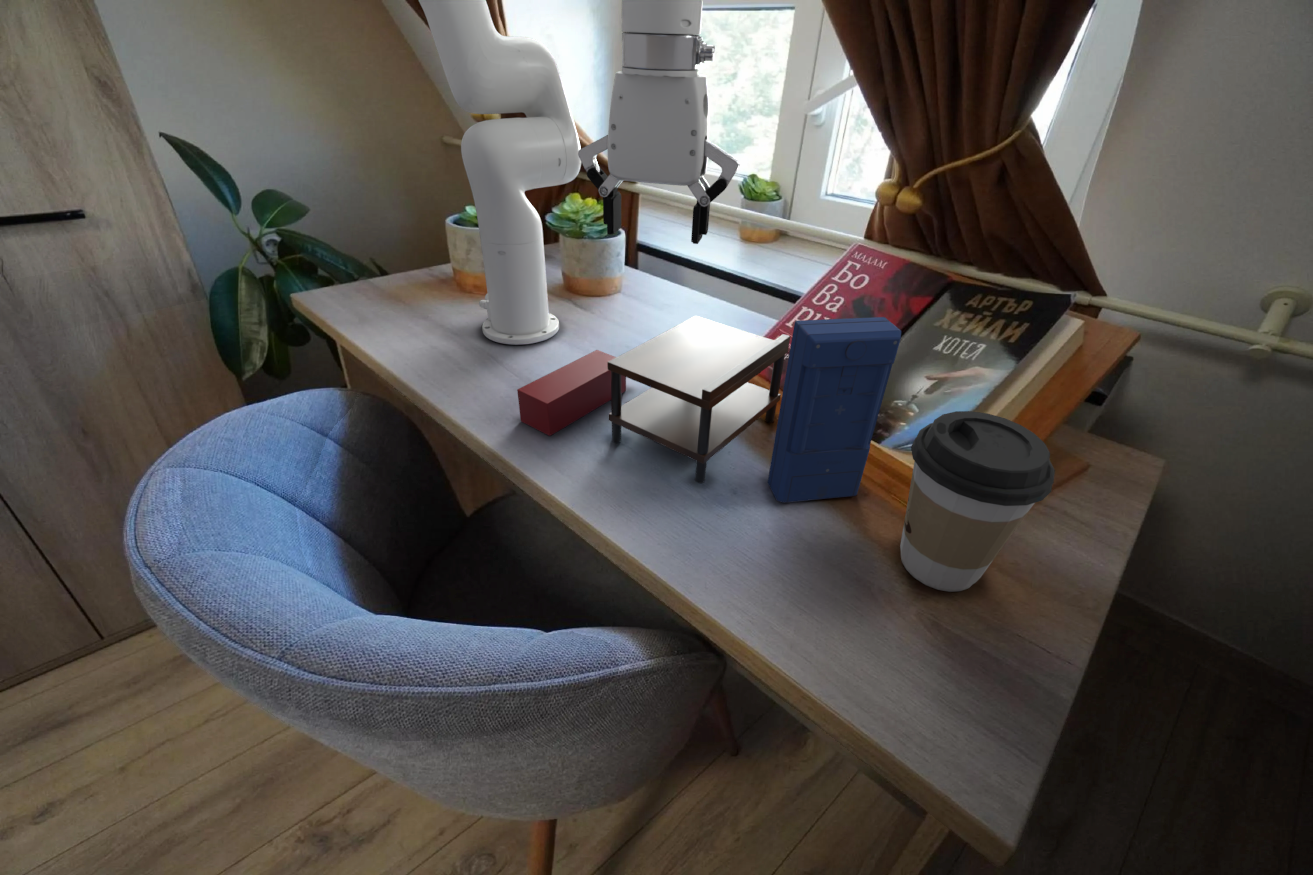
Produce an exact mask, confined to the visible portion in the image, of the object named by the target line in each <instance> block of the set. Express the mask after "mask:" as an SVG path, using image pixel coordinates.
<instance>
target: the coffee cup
mask: <svg viewBox="0 0 1313 875" xmlns="http://www.w3.org/2000/svg"><path fill="white" fill-rule="evenodd" d="M910 450H911V455H912V460H913V462H914V463H913V468H912V473H911V480H910V486H909V490H908V491H909V492H908V498H907V502H906V503H907V504H906V510H905V517H904V522H903V526H902V532H901V539H900V546H899V547H900V548H899V549H900V558H901V564H902V565H903V566H904V569H905V570H906V571H907V572H908V574H910V575H911V576H912V578H914V579H916V580H917V581H918V582H920V583H922V584H923V585H925V586H927V587H930V588H933V589H935V590H938V591H944V592H949V593H951V592H962V591H965V590H967V589H970V588H971V587H972V586H974V584H976V583H977V582H978V581H979V580H980V579H981V578H982V576H983V575H984V574H985V572H986V571H987V570H988V568H989V567H990V565H991V564H992V563H993V562H994V560H995V558H996V557H997V556H998V554H999V553H1000V552H1001V550H1002V549H1003V547H1004V546H1005V545H1006V543H1007V542H1008V541H1009V539H1010V538H1011V536H1012V535H1013V534H1014V532H1016V530H1017V528H1018V527H1019V525H1020V524H1021V522H1023V520H1024V518H1025V517H1026V516H1027V515H1028V513H1029V512H1030V510H1031V509H1032V507H1034V505H1035V504H1036V503H1038V502H1042V501H1044V500H1045V499H1046V498H1047V497H1048V496H1049V495H1050V494H1051V493H1052V489H1053V484H1054V483H1055V473H1056V470H1055V468H1054V466H1053V464H1052V462H1051V460H1050V459H1051V452H1050V451H1049V449H1048V447H1047V444H1046V443H1045V442H1044V441H1043V440H1042V439H1041V438H1040V437H1039V436H1038V435H1036V433H1035V432H1033V431H1031V430H1030V429H1028V428H1027V427H1025V426H1023V425H1021V424H1020V423H1017V422H1015V421H1013V420H1011V419H1008V418H1005V417H1003V416H998V415H994V414H991V413H988V412H979V411H973V410H957V411H952V412H948V413H943V414H942V415H941V414H940V415H939V416H938V417H936V418H934V420H933V421H932V422H930V423H929V424H927V425H925V426H923V427H922V428H921V429H920V430H919V431H918V433H917V435H916V437H915V438H914V440H913V442H912V444H911V446H910Z"/></svg>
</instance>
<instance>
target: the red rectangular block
mask: <svg viewBox="0 0 1313 875" xmlns="http://www.w3.org/2000/svg"><path fill="white" fill-rule="evenodd" d="M616 357H617V356H614V355H612V354H609V353H606V352H604V351H603V350H599V349H595V350H593V351H591V352H590V353H587V354H586V355H583V356H582V357H580V358H578V359H575V360H573V361H572V362H570V363H567V364H566V365H564V366H563V365H562V367H559V368H557V369H556V370H554V371H551V372H549V373H547V374H546V375H544V376H541V377H540V378H537V379H535V380H533V381H531V382H530V383H527V384H526V385H523V386H521V387H519V388H517V390H516V391H517V400H518V409H519V418H520V422H521V423H523V424H525V425H527V426H529V427H531V428H533V429H535V430H536V431H539V432H541V433H543V434H545V435H547V436H548V437H551V436H552V435H554V434H556V433H558V432H560V431H561V430H563V429H565V428H566V427H568V426H570V425H571V424H574V423H575V422H576V421H578V420H580V419H581V418H583V417H585V416H587V415H588V414H590V413H591V412H593V411H596V409H598V408H600V407H601V406H603V405H605V404H607V403H608V402H611V371H610V370H608V362H609V361H610V360H612V359H614V358H616ZM626 391H627V377H625V376H622V375H621V395H622V394H623V393H625V392H626Z"/></svg>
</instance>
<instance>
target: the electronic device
mask: <svg viewBox="0 0 1313 875" xmlns="http://www.w3.org/2000/svg"><path fill="white" fill-rule="evenodd" d="M901 338H902V330H901V329H900V328H898V327H897V326H896V325H895V324H894V323H893V322H891V321H890V320H889V319H888V318H886V317H885V316H874V317H851V318H828V319H827V318H826V319H805V320H804V319H803V320H801V319H800V320H795V321H794V324H793V330H792V336H791V340H790V342H791V343H790V346H789V352H788V353H789V354H788V359H787V366H786V371H785V377H784V383H783V390H782V394H781V399H780V407H779V413H778V418H777V422H776V423H777V425H776V430H775V434H774V435H775V436H774V440H773V441H774V442H773V448H772V454H771V459H770V464H769V471H768V477H767V484H768V487H769V488H770V490H771V492H772V494H773V496H774V498H775V500H776V501H777V502H781V503H794V502H803V501H805V502H807V501H815V500H826V499H828V500H829V499H836V498H838V499H839V498H847V497H848V498H849V497H857V495H858V492H859V490H860V486H861V483H862V482H861V481H862V479H863V475H864V472H865V469H866V464H867V461H868V457H869V454H870V449H871V442H872V440H873V439H872V438H873V436H874V432H875V428H876V425H877V421H878V417H879V414H880V410H881V407H882V404H883V400H884V396H885V393H886V389H887V385H888V382H889V379H890V375H891V371H892V368H893V365H894V364H895V361H896V357H897V354H898V351H899V347H900V343H901Z"/></svg>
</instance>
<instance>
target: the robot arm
mask: <svg viewBox="0 0 1313 875" xmlns="http://www.w3.org/2000/svg"><path fill="white" fill-rule="evenodd" d="M418 2H419V5H420V6H421V8H422V10H423V13H424V16H425V18H426V20H427V24H428V27H429V30H430V34H431V36H432V39H433V43H434V45H435V49H436V52H437V55H438V58H439V62H440V63H441V66H442V69H443V73H444V76H445V78H446V81H447V84H448V86H449V89H450V91H451V94H452V97H453V99H454V100H455V103H457V105H458V106H459V108H460V109H461V110H462V111H464V112H466V113H468V114H469V113H470V114H475V115H498V114H517V113H518V114H519V113H522V114H524V115H525V117H507V118H493V119H486V120H483V121H479V122H476V123H474V124H473V125H471V126H469V128H467V129H466V130H465V131H464V134H463V135H462V139H461V142H460V153H461V158H462V163H463V167H464V170H465V173H466V176H467V179H468V182H469V187H470V189H471V190H470V191H471V194H472V198H473V202H474V207H475V212H476V218H477V219H476V220H477V226H478V232H479V240H480V247H481V254H482V264H483V271H484V277H485V284H486V291H487V293H486V294H485V296H484V299H481V300H480V301H479V302H478V305H479V307H480V308H482V309H484V310H486V312H487V317H486V319H485V320H484V321H483V323H482V328H481V329H482V333H483V335H484V336H485V337H486V338H487V339H489V340H490V341H493V342H496V343H498V344H504V345H515V346H519V345H521V346H522V345H532V344H535V343H540V342H543V341H547V340H548V339H550V338H552V337H553V336H555V335H556V334H557V333H558V332H559V330H560V322H559V319H558V318H557V317H556V316H555V315H554V314H552V313H551V312H550V311H549V310H550V309H549V299H548V297H549V296H548V285H547V271H546V270H547V269H546V258H545V244H544V230H543V223H542V219H541V217H540V214H539V213H538V211H537V209H536V208H535V207H534V205H532V203H531V202H530V201H529V199H528V198H527V196H526V193H525V192H526V191H531V190H535V189H542V188H549V187H555V186H561V185H565V184H569V183H570V182H572V181H574V180H575V179H576V178H577V176H578V175H579V172H580V171H581V167H582V166H583V168H584V170H585V172H586V176H587V178H588V180H589V181H590V182H591V183H592V184H593V186H595V188H596V189H597V190H598V194H599V196H600V197H602V210H603V211H602V219H603V221H602V222H603V224H604V225H605V226H606V234H607V235H609V236H613V235H615V234H616V233H617V232H618V231H619V230H620V229H621V228H622V194H621V193H620V191H619V186H620V185H621V184H622V183H623V182H624V181H625V182H634V183H635V182H636V183H644V184H645V183H646V184H657V185H668V186H684V187H685V186H686V187H688V189H689V191H690V192H691V193H692V195H693V197H694V198H695V199H696V204H694V206H693V208H692V222H691V236H690V238H691V239H690V242H691V243H692V244H694V245H698V244H699V243H700V242H701V240H702V238H703V236H707V234H708V231H709V224H710V212H711V203H713V201H714V200H715V199H716V198H717V197H719V196H720V195H721V194H722V193H723V192H725V190H726V189H727V188H728V187H729V185H730V183H731V181H732V180H733V178H734V176H735V174H736V173H737V171H738V170H739V168H740V165H741V163H740V160H738V159H737V158H736V157H734V156H733V155H731V154H730V153H728V152H727V151H725V150H724V149H722V148H721V147H720V146H719V145H717V144H715V143H714V142H712V141H711V140H710V139H709V137H710V111H709V110H710V106H709V105H710V104H709V87H708V79H707V74H706V75H705V74H699V69H701V66H702V65H703V64H706V63H707V62H710V63H711V62H714V61H715V53H716V47H715V45H713V44H708V43H706V42H704V40H703V36H701V33H702V20H703V19H702V18H703V2H704V0H621V70H618V71H616V72H615V75H614V79H613V85H612V92H611V98H610V108H609V119H608V132H607V134H605V136H603V137H601V138H599V139H596V140H595V141H593V142H591V143H589V144H588V145H585V146H584V147H582V148H581V143H580V139H579V135H578V131H577V127H576V124H575V120H574V117H573V113H572V110H571V107H570V103H569V99H568V97H567V93H566V90H565V85H564V83H563V80H562V76H561V72H560V69H559V67H558V64H557V62H556V59H555V57H554V55H553V54H552V53H551V51H550V50H549V48H548V47H547V46H546V45H545V44H544V43H542V42H541V40H538V39H535V38H533V37H528V36H513V35H512V36H509V35H508V36H507V35H503V34H501V33H499V32H498V31H497V28H496V27H495V25H494V22H493V19H492V16H491V12H490V9H489V6H488V3H487V0H418ZM606 150H607V167H608V172H609V174H608V175H607V174H606V172H605V171H604V170H603V169H602V167H601V166H599V164H598V161H597V156H598V155H599V154H601V153H603V152H605V151H606ZM709 160H710V161H712V162H713V163H714V164H716V165H717V166H719V167H720V168H721V173H720V175H719V176H718V178H717V180H715V181H714V182H713V183H712V184H711V185H710V184H709V182H708V181H707V179H706V178H705V177H704V175H706V173H707V169H708V162H709Z"/></svg>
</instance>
